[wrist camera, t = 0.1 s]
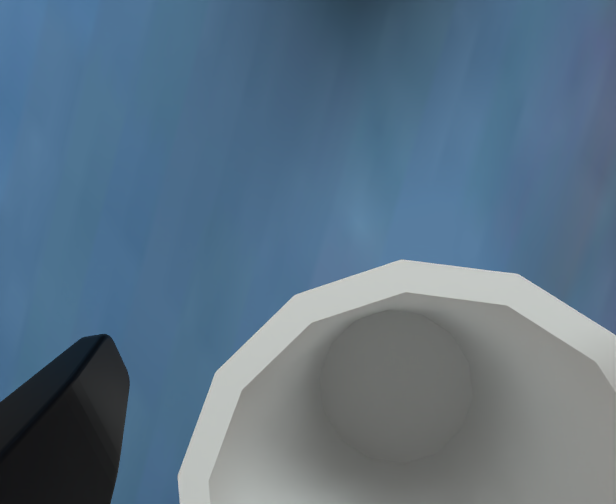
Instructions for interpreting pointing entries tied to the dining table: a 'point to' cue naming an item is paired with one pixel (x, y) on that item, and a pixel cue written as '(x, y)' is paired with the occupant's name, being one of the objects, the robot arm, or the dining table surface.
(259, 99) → the dining table surface
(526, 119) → the dining table surface
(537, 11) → the dining table surface
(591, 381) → the foam cup
